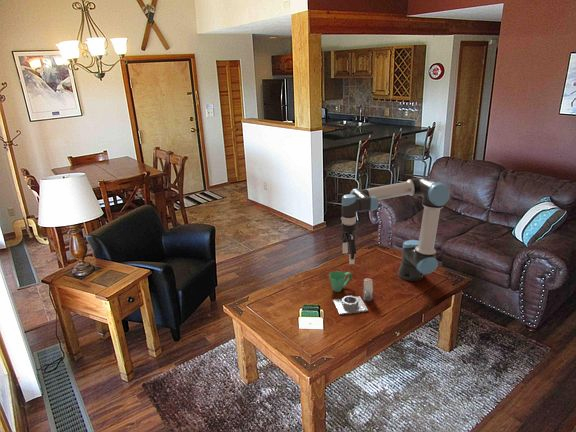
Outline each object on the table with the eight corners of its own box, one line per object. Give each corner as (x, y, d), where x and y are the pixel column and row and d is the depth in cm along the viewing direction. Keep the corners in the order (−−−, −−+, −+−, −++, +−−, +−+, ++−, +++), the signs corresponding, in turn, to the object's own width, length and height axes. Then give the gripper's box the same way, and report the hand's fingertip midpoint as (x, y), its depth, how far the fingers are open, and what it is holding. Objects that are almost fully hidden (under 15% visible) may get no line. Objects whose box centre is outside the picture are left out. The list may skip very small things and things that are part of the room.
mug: (335, 295, 234) (335, 280, 230) (326, 288, 242) (325, 273, 238) (355, 288, 240) (355, 274, 237) (345, 281, 248) (345, 267, 245)
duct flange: (359, 297, 231) (360, 291, 230) (368, 311, 218) (368, 305, 217) (332, 301, 229) (332, 295, 228) (339, 315, 216) (339, 308, 215)
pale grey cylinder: (370, 296, 232) (371, 277, 228) (373, 300, 228) (374, 281, 223) (362, 297, 232) (362, 278, 227) (365, 301, 227) (365, 282, 223)
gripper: (336, 215, 228) (336, 249, 235) (348, 232, 205) (348, 269, 212) (349, 214, 229) (348, 248, 236) (362, 231, 205) (361, 267, 213)
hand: (348, 258), depth 224 cm, fingers open, 13 cm apart
